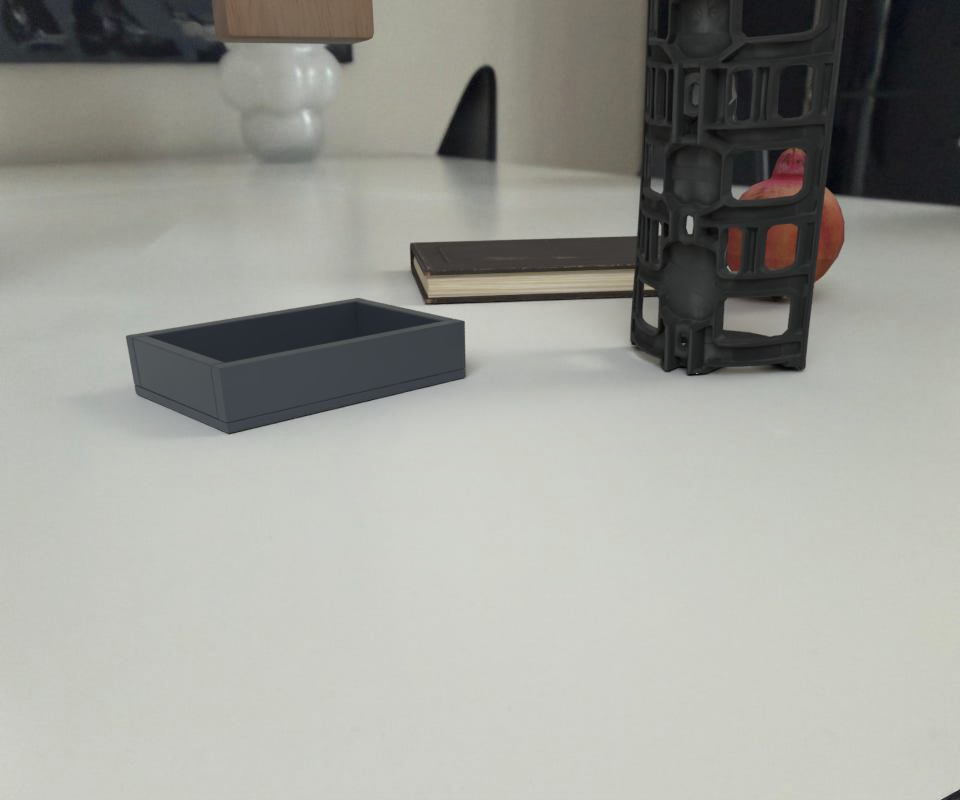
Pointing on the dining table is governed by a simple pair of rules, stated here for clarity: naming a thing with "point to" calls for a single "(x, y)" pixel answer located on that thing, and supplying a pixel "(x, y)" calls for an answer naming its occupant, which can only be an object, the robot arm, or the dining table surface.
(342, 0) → the wooden block
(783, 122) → the holder
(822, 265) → the fruit
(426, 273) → the hardcover book
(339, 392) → the tray
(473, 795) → the dining table surface
